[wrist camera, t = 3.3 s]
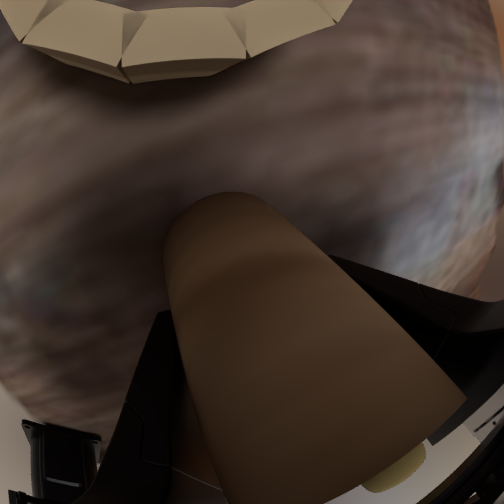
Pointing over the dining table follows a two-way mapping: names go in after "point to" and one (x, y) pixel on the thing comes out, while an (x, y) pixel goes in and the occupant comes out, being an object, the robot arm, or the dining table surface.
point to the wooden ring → (163, 34)
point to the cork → (397, 471)
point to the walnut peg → (291, 358)
